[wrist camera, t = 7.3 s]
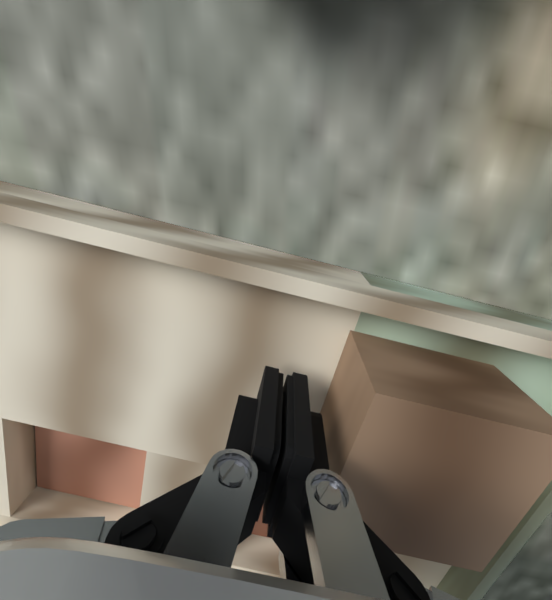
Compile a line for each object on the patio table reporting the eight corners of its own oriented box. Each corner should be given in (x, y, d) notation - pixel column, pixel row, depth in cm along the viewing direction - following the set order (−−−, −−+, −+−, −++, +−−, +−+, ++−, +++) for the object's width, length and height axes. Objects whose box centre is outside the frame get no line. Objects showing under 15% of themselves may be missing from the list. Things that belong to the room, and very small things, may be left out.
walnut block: (493, 365, 12) (580, 441, 9) (432, 472, 14) (481, 572, 11) (350, 330, 12) (375, 393, 8) (308, 443, 14) (314, 535, 11)
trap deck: (576, 326, 14) (664, 369, 10) (410, 583, 20) (432, 659, 17) (-106, 154, 13) (-243, 142, 10) (-49, 483, 19) (-119, 543, 16)
